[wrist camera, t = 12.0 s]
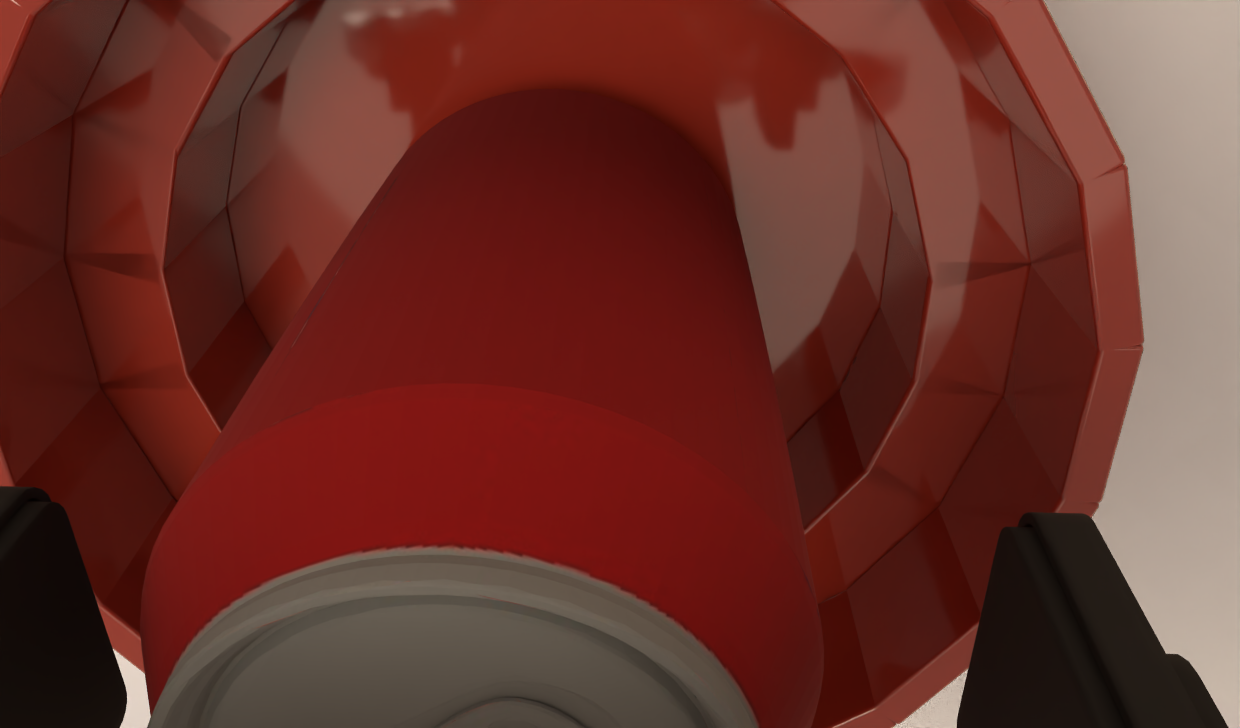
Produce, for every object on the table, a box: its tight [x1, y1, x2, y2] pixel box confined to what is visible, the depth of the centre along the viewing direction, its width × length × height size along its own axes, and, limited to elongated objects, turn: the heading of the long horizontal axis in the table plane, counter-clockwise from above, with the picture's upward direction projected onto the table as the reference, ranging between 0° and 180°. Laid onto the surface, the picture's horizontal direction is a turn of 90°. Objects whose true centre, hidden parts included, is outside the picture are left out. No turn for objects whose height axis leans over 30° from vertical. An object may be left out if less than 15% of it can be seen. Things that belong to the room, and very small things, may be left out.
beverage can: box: [140, 89, 824, 728], centre depth 14 cm, size 7×7×12 cm
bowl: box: [0, 0, 1144, 728], centre depth 17 cm, size 16×16×6 cm
